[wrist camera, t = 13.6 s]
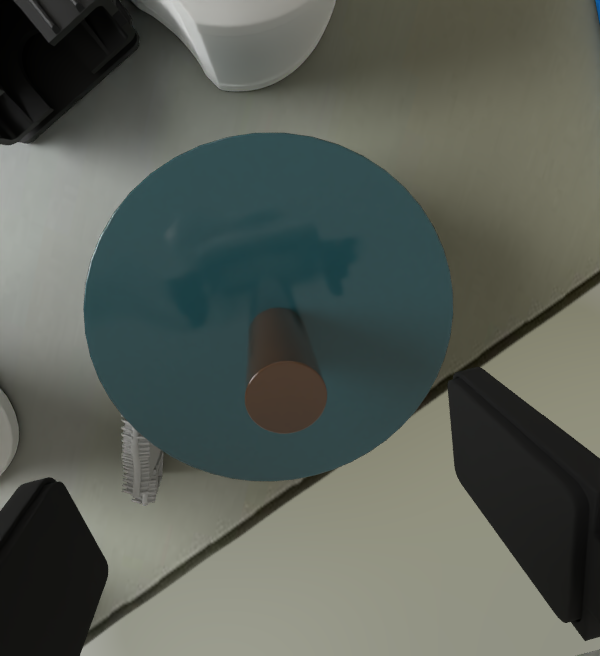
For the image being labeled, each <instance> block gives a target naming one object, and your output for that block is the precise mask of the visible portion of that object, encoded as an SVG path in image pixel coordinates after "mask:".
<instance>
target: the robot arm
mask: <svg viewBox="0 0 600 656" xmlns="http://www.w3.org/2000/svg"><path fill="white" fill-rule="evenodd" d="M448 396H449V407H450V419H451V431H452V442H453V454H454V466H455V471H456V474H457V477H458V479H459V481H460V482H461V484H462V486H463V487H464V488H465V490H466V491H467V492H468V494H469V495H470V497H471V498H472V499H473V501H474V502H475V503H476V505H477V506H478V508H479V509H480V510H481V512H482V513H483V514H484V516H485V517H486V519H487V520H488V521H489V523H490V524H491V526H492V527H493V528H494V530H495V531H496V533H497V534H498V535H499V537H500V538H501V539H502V541H503V542H504V543H505V545H506V546H507V548H508V549H509V551H510V552H511V553H512V555H513V556H514V557H515V559H516V560H517V562H518V563H519V564H520V566H521V567H522V569H523V570H524V571H525V572H526V574H527V575H528V577H529V578H530V580H531V581H532V582H533V584H534V585H535V587H536V588H537V589H538V591H539V592H540V593H541V595H542V596H543V598H544V599H545V600H546V602H547V603H548V605H549V606H550V607H551V608H552V610H553V611H554V613H555V614H556V615H557V616H558V618H559V619H560V620H561V621H563V622H565V623H567V622H571V623H572V624H573V626H574V627H575V628H576V630H577V631H578V632H579V634H580V635H581V636H582V638H583V639H584V640H585V641H587V640H590V639H593V638H597V637H600V458H598V457H597V456H596V455H595V454H593V453H592V452H591V451H589V450H588V449H587V448H585V447H584V446H583V445H582V444H580V443H579V442H578V441H576V440H575V439H574V438H572V437H571V436H570V435H569V434H567V433H566V432H565V431H563V430H562V429H561V428H559V427H558V426H557V425H555V424H554V423H553V422H552V421H550V420H549V419H548V418H546V417H545V416H544V415H542V414H541V413H539V412H538V411H537V410H535V409H534V408H533V407H531V406H530V405H529V404H527V403H526V402H525V401H524V400H522V399H521V398H520V397H518V396H517V395H516V394H515V393H513V392H512V391H511V390H509V389H508V388H507V387H505V386H504V385H503V384H502V383H500V382H499V381H498V380H496V379H495V378H494V377H493V376H491V375H490V374H489V373H487V372H486V371H485V370H483V369H482V368H480V367H475V368H471V369H467V370H463V371H460V372H456V373H455V374H454V376H453V380H449V381H448ZM18 442H19V426H18V422H17V418H16V414H15V411H14V409H13V407H12V405H11V403H10V401H9V399H8V397H7V396H6V395H5V394H4V392H3V391H2V390H1V388H0V475H1V474H2V473H3V472H4V471H5V469H6V468H7V467H8V466H9V465H10V463H11V461H12V459H13V457H14V456H15V454H16V450H17V446H18ZM107 577H108V564H107V561H106V559H105V557H104V556H103V554H102V552H101V550H100V548H99V546H98V545H97V543H96V541H95V539H94V537H93V536H92V534H91V532H90V530H89V528H88V527H87V525H86V523H85V521H84V519H83V518H82V516H81V514H80V512H79V510H78V509H77V507H76V505H75V503H74V501H73V499H72V498H71V496H70V494H69V492H68V490H67V489H66V487H65V485H64V484H63V483H62V482H57V481H56V480H55V479H53V478H49V477H48V478H44V479H40V480H36V481H33V482H29V483H25V484H23V485H21V486H20V487H19V488H18V489H17V490H16V491H15V493H14V494H13V495H12V496H11V498H10V499H9V500H8V502H7V503H6V504H5V506H4V507H3V508H2V510H1V511H0V656H80V653H81V650H82V648H83V645H84V642H85V639H86V637H87V634H88V631H89V628H90V625H91V623H92V620H93V617H94V614H95V611H96V609H97V606H98V603H99V600H100V597H101V595H102V592H103V589H104V586H105V584H106V581H107ZM578 656H600V650H596V651H592V652H589V653H585V654H581V655H578Z"/></svg>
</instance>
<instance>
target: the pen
mask: <svg viewBox="0 0 600 656" xmlns="http://www.w3.org/2000/svg"><path fill="white" fill-rule="evenodd" d="M595 2H596V7H597V12H598V18H599V23H600V0H595Z"/></svg>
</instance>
